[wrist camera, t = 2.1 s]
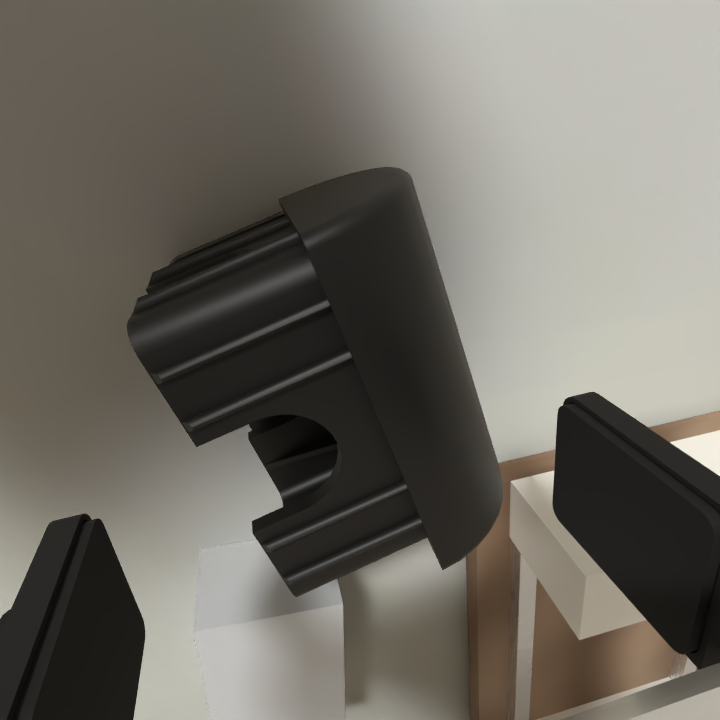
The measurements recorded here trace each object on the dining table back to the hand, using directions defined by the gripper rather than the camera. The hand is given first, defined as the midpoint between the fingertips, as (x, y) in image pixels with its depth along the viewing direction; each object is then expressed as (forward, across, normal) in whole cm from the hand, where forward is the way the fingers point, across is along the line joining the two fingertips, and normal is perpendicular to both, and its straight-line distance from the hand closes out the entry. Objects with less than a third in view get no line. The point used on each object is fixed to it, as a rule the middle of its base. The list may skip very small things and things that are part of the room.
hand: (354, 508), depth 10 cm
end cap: (+9, -1, 0) cm, 9 cm away
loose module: (+9, +3, +12) cm, 15 cm away
